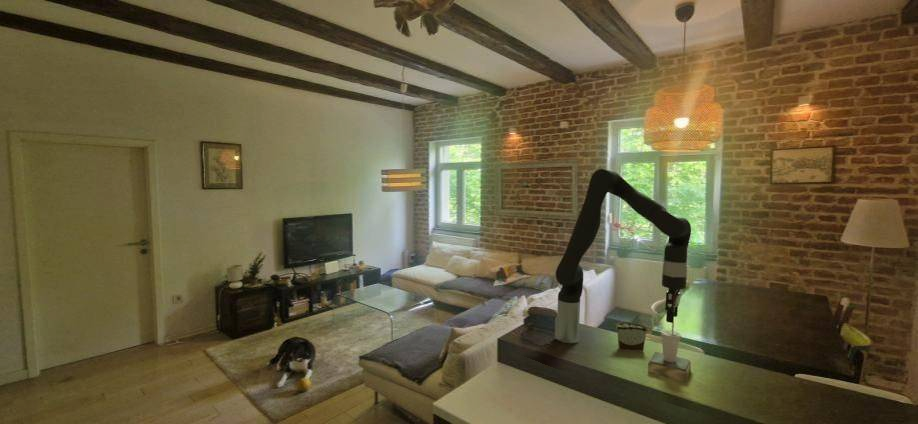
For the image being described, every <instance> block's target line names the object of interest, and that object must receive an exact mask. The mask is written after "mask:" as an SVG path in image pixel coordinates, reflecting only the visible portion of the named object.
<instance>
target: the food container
mask: <svg viewBox="0 0 918 424" xmlns="http://www.w3.org/2000/svg"><path fill="white" fill-rule="evenodd" d="M615 330H616V332H617V344H618V350H619V351H628V350H635V351H634V352H644V351H645V350H644V348H645V342H646V335H647V333H648V332H649V329H648V327H647V326H646V325H644V324H641V323H638V322H631V321H620V322H617V324H616V326H615ZM636 350H637V351H636Z"/></svg>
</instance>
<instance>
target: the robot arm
mask: <svg viewBox="0 0 918 424" xmlns="http://www.w3.org/2000/svg"><path fill="white" fill-rule="evenodd" d="M608 193H609V194H612V195H614V196H615V197H618V198H619V199H621V200H623V201H624V202H625V203H626V204H627V205H629V207H631V209H632V210H633V211H635V212H636V213H637V214H638V215H640V217H643V218H644V219H645V220H647V221H648V222H651V223H652V224H653V225H654V226H655V227H656V228H657V229H658V230H659V231H661V233H663V234H664V235H666V236H667V237H668V242H667V244H666V245H665V247H664V252H663V255H664V256H663V264H662V273H661V274H662V277H661V285H662V287H664V288H667V289H668V290H667V291H666V293H665V307H664V310H665V311H666V316H665V317H666V318H665V322H667V323H671V324H672V323H673V322H674V323H675V320H674V319H675V318H676V317H678V311H679V310H678V309H679V305H680V302H681V290H686V288H687V275H688V266H687V265H688V264H687V263H688V262H687V261H688V247H689V243H690V239H691V236H692V235H691V234H692V226H691V223H690V221H689V220H688V219H686V218H684V217H677V216H675V215H673V214H671V212H668V210H667V208H665V207H664V206H663V205H662V204H660V203H659V202H657V201H656V200H654V199H652V198H651V197H649V196H648V195H646V194H644V193H642V192H641V191H640V190H638V189H637V188H635V187H633V186H632V185H631V184H630V183H628V182H627V181H626V180H625V179H624V178H623V177H622V176H621V175H620V174H619V173H618V172H616V170H614V169H608V168H599V169H597V170H595V171H594V172H593V173H592V175H591V177H590V180H589V183H588V187H587V192H586V194H585V199H584V201H583V204H582V206H581V209H580V211H579V215H578V217H577V219H576V221H575V224H574V227H573V229H572V232H571V236H570V238H569V240H568V241H569V242H568V243H567V246H566V250H565V252H564V253H563V255H562V258H561V260H560V262H559V263H558V266H557V268H556V271H555V279H556V281H557V283H558V284H559V285H560V286H561V289H560V290H559V291H558V294H557V311H556V312H557V313H556V314H557V316H556V317H555V319H554V320H555V321H554V325H555V326H554V339H555V340H557V341H559V342H560V343H564V344H577V343H578V342H579V340H580V317H581V313H580V312H581V311H580V309H581V297H582V294H583V289H584V287H583V285H584V271H583V268H582V266H581V265H580V262H581V261H582V259H583V257H584V255H585V254H586V253H587V252H588V250H589V248H590V247H591V246H592V245H593V242H594V241H595V239H596V238H597V234H598V233H599V230H600V226H601V219H602V218H601V217H602V215H601V214H602V206H603V203H604V200H605V198H606V196H607V194H608Z"/></svg>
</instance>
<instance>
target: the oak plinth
mask: <svg viewBox="0 0 918 424" xmlns="http://www.w3.org/2000/svg"><path fill="white" fill-rule="evenodd" d="M691 369H692V361H690V359H687V358H683V357H678V356H676V360H675V362H668V361H665V360H664V357H663V352H657V351H654V352H653V354H652V355H651V357H650V359H649V360H648V363H647V372H648V371H649V372H648V373H650V372H652V373H651V374H654V373H657V374H656V375H658V374H659V375H658V376H662V375H663V376H662V377H665V376H666V378H669V377H670V379H673V380H677V381H681V382H685V383H687V382H688V379H689V376H690V374H691V372H692V370H691Z"/></svg>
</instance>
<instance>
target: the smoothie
mask: <svg viewBox="0 0 918 424" xmlns="http://www.w3.org/2000/svg"><path fill="white" fill-rule="evenodd" d="M674 325H675V321H674V322H673V323H671V330H668V329H667V330H666V329H665V330H662V331H661V332H660V336H661V342H662V343H661V344H662V353H663V357H664V360H665V361H668V362H675V360H676V357H678V356H677V355H678V350H679V345H680V340H681V339H682V335H681V334H680V333H679V332H676V331H674V328H675V326H674Z"/></svg>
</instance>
